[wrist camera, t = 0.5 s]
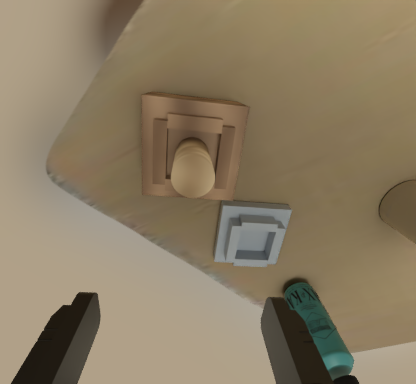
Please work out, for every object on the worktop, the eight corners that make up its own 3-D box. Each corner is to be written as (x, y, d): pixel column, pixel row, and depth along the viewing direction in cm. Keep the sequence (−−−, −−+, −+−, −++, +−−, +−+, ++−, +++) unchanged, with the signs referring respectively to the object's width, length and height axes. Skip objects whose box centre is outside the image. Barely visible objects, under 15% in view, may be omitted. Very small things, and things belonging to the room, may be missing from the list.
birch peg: (210, 138, 28) (217, 158, 20) (206, 170, 29) (212, 199, 22) (176, 135, 27) (171, 154, 20) (174, 167, 29) (169, 196, 22)
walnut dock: (236, 101, 34) (252, 108, 25) (224, 178, 39) (234, 206, 30) (152, 91, 32) (138, 95, 24) (151, 172, 37) (139, 199, 29)
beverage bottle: (314, 288, 51) (381, 400, 33) (287, 302, 53) (338, 416, 35) (302, 271, 49) (369, 381, 31) (274, 285, 50) (322, 399, 32)
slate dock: (287, 204, 42) (298, 217, 38) (272, 257, 47) (280, 273, 43) (221, 200, 40) (225, 213, 36) (213, 254, 45) (215, 271, 41)
